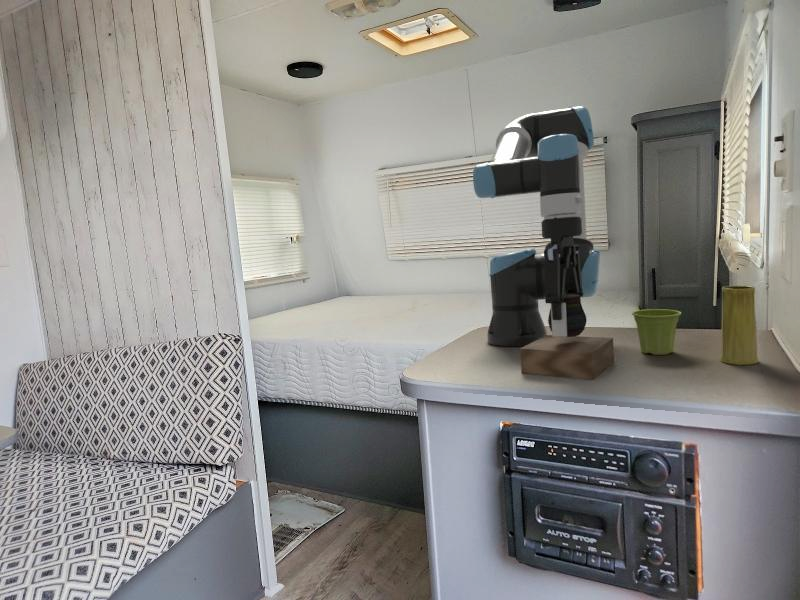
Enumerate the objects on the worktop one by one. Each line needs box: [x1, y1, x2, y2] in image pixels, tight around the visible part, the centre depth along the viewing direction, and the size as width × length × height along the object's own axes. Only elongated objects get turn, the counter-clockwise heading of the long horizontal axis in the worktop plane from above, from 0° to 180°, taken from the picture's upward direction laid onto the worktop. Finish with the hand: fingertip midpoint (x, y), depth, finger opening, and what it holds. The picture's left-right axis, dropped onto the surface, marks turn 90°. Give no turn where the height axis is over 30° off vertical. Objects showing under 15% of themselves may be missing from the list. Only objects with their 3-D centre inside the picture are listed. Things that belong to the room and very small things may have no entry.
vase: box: [719, 285, 759, 366], centre depth 99 cm, size 6×6×14 cm
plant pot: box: [631, 308, 682, 356], centre depth 111 cm, size 9×9×9 cm
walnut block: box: [519, 334, 615, 380], centre depth 105 cm, size 14×14×5 cm
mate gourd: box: [547, 291, 587, 337], centre depth 104 cm, size 7×8×10 cm
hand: (566, 332), depth 104 cm, fingers closed on mate gourd, 7 cm apart
